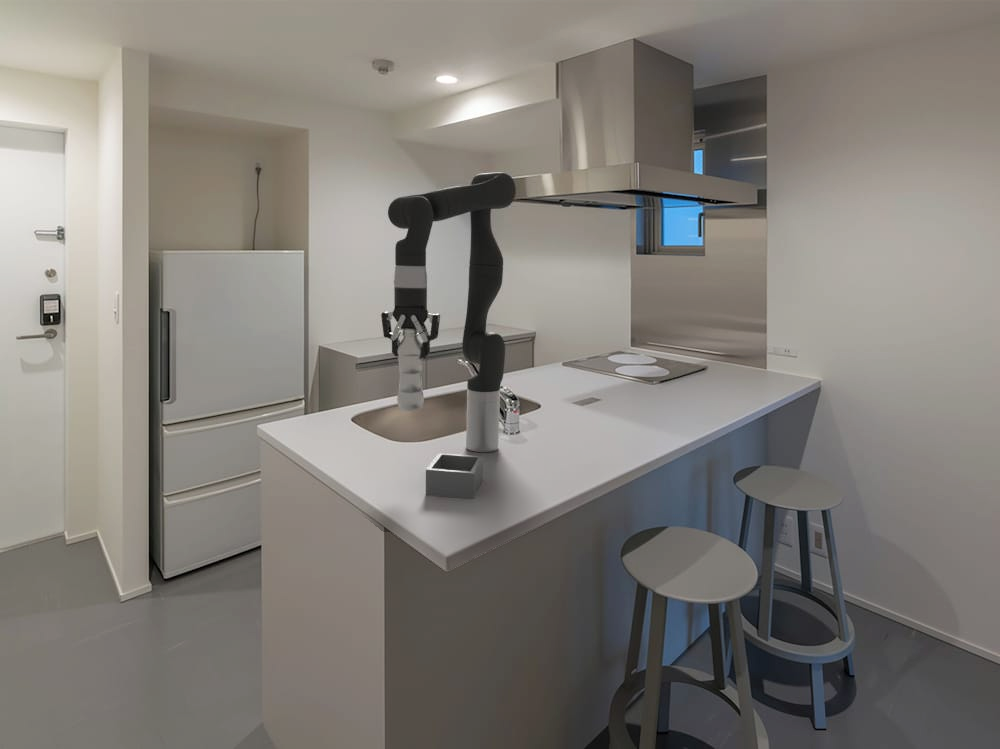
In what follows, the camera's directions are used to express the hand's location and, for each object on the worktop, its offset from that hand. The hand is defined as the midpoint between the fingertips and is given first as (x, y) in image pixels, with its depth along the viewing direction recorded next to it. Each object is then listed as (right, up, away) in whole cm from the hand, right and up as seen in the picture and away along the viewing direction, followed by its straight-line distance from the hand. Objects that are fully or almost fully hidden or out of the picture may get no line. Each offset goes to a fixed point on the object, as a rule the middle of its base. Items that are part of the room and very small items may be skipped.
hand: (410, 356), depth 141 cm
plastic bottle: (0, -13, +3) cm, 13 cm away
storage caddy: (+11, -31, -2) cm, 33 cm away
